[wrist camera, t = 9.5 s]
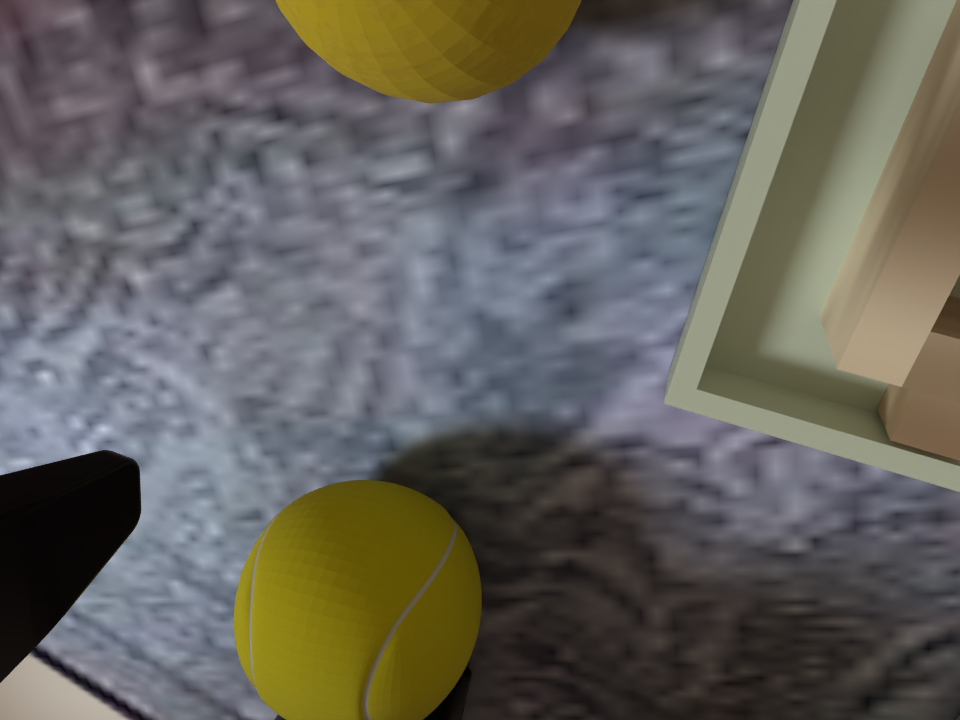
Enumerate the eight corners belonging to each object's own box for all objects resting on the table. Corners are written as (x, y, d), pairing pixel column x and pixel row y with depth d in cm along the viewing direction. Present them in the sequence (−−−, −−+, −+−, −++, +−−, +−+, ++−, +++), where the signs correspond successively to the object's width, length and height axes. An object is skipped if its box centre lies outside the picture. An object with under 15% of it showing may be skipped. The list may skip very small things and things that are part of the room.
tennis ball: (515, 464, 21) (432, 634, 15) (502, 635, 24) (427, 833, 18) (310, 420, 23) (162, 557, 17) (321, 584, 26) (198, 749, 20)
